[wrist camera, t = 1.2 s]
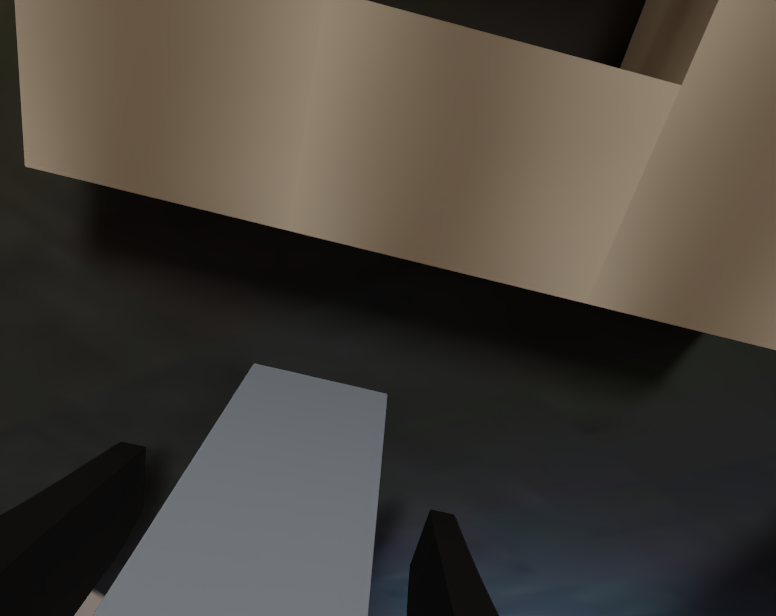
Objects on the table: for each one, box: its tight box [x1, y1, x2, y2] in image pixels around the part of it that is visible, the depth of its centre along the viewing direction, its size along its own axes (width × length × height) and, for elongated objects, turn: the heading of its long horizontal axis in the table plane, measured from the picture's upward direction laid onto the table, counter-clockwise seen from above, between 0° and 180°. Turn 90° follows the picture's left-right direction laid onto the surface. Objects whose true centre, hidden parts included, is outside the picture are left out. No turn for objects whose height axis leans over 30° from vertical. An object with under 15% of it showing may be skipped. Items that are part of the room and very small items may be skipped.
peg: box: [93, 363, 387, 616], centre depth 11 cm, size 4×4×8 cm
